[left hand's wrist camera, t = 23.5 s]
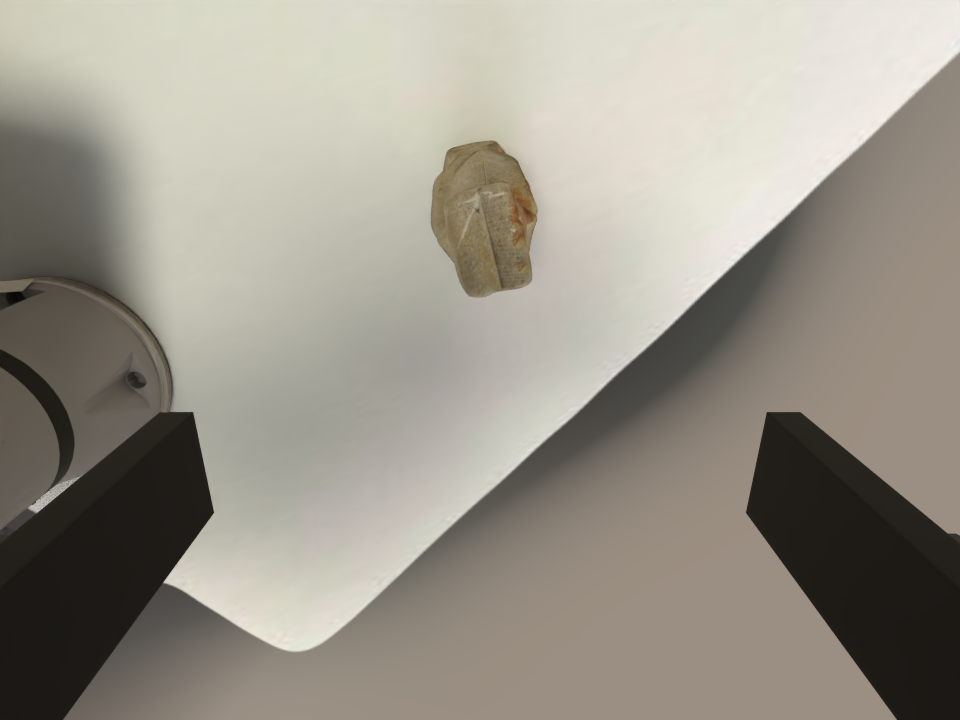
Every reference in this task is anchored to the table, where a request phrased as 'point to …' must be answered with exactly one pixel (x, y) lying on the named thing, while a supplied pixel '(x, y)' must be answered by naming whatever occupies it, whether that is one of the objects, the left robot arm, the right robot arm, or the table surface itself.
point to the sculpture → (484, 218)
